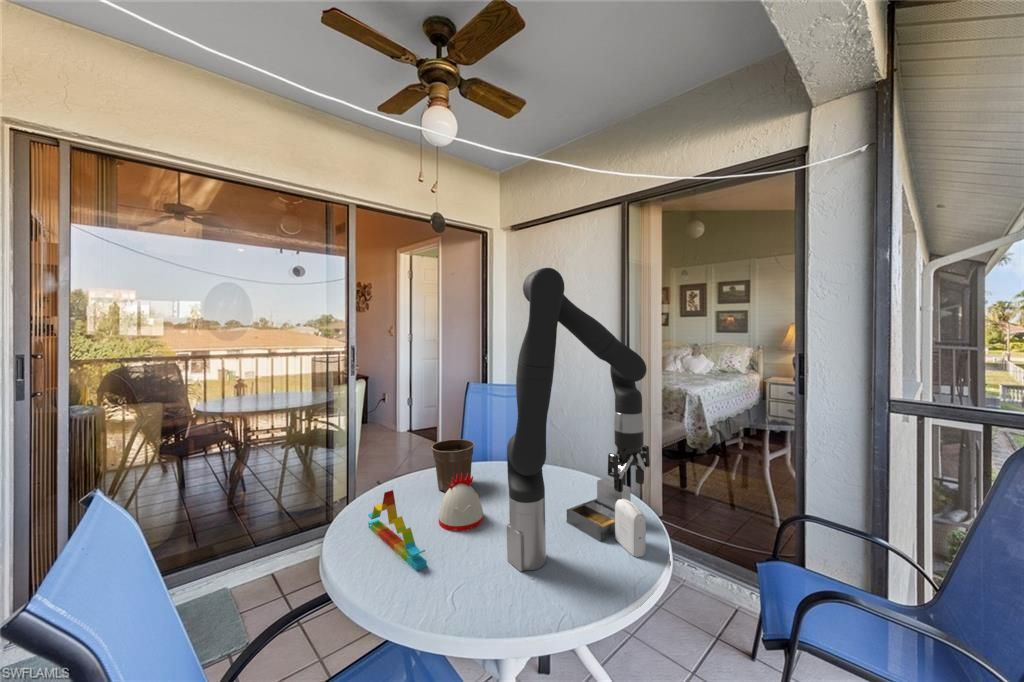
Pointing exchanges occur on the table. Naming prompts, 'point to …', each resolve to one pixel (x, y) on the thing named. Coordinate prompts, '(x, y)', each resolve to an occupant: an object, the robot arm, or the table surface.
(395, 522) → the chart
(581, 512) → the rack
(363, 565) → the table surface
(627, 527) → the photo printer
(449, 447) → the plant pot
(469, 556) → the table surface
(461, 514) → the kitchen timer
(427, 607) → the table surface
